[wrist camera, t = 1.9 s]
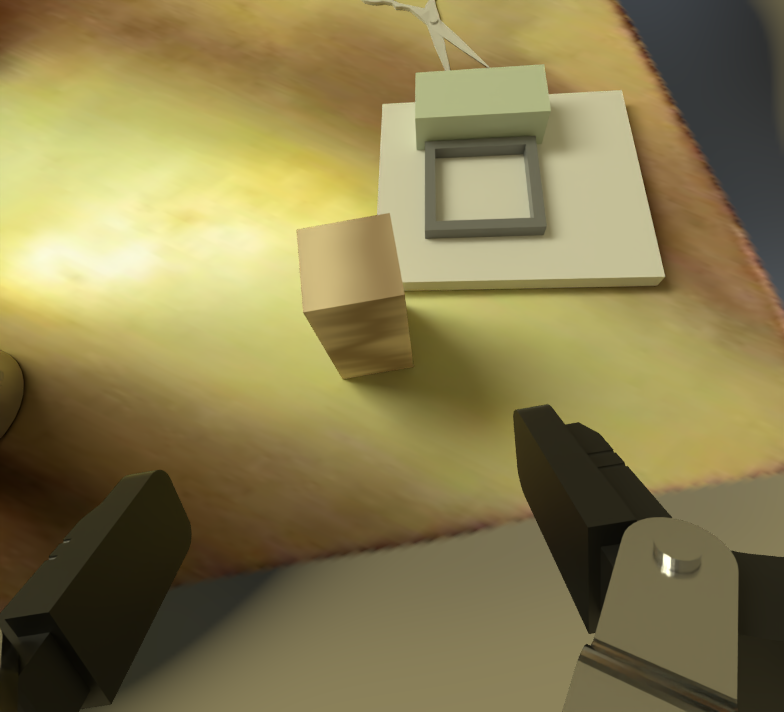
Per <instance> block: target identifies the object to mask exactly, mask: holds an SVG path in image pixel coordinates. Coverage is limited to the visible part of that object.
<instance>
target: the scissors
mask: <svg viewBox="0 0 784 712" xmlns="http://www.w3.org/2000/svg"><path fill="white" fill-rule="evenodd" d="M362 1H363V2H364V3H365V4H369V5H382V4H386V5H392V6H393V7H394V8H395V9H396V10H406V11H410V12H411V13H413V14H414V15H415V16H416V17H417V18H418V19H420V20H421V21H422V22H423V23H424V24H426V25H427V27H428V29H429V32H430V35H431V38H432V41H433V44H434V46H435V49H436V51H437V53H438V56H439V58H440V60H441V62H442V64H443V67H444V69H445V71H450V67H449V62H448V58H447V54H446V49H445V43H444V39H443V37H444V38H445V39H447V40H448V41H450V42H451V43H453V44H454V45H455V46H457V47H458V48H460V49H461V50H463V51H464V52H466V53H467V54H469V55H470V56H472V57H473V58H475V59H476V60H478V61H479V62H481V63H482V64H484V65H485V66H487V67H488V68H490V67H489V66H488V65H487V64H486V63H485V62H484V61H483V60H482V59H481V58H480V57H479V56H478V55H477V54H476V53H475V52H474V51H473V50H472V49H471V48H470V47H469V46H468V45H467V44H466V43H465V42H464V41H463V40H461V39H460V38H459V37H458V36H457V35H456V34H455V33H454V32H453V31H452V30H451V29H450V28H448V27H447V26H446V25H445V24H444V23H443V22H442V21H441V20H440V18H439V14H438V11H437V8H436V4H435V0H429V1H428V2H427V4H426V6H425V8H420V7H415V6H411V5H405V4H401V3H398V2H396V1H394V0H362Z"/></svg>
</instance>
